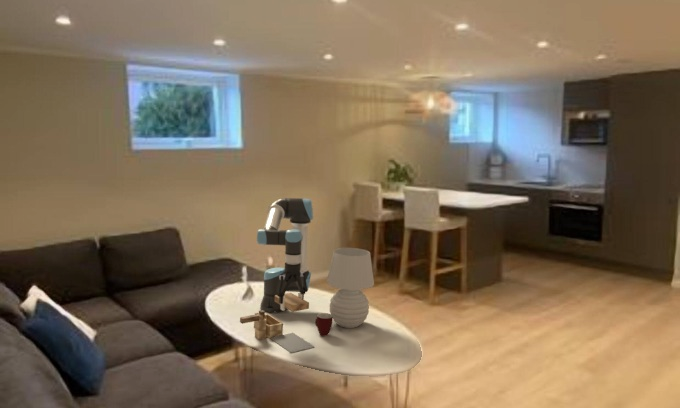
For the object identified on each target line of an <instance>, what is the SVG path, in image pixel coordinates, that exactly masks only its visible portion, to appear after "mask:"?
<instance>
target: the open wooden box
mask: <svg viewBox="0 0 680 408" xmlns="http://www.w3.org/2000/svg"><path fill="white" fill-rule="evenodd" d="M255 314H259V312H254V315H255ZM253 328H254V338H256V339H257V340H262V339H266V338H268V339H269V338H271V337H276V336H280V335H284V334H283V333H284V329H283V328H284V323H283V322H281V321H280V320H278V319H276V318H275V317H273V316H272V315H271V314H269V313H265V319H264V320H263V316H259V320H258V321H253Z"/></svg>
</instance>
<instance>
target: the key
mask: <svg viewBox="0 0 680 408" xmlns="http://www.w3.org/2000/svg"><path fill="white" fill-rule="evenodd" d="M258 313H259V314H255V313H254V314H251V315H244V316H240V317H239V322H240V324H247V323H252V322H253V323H254V321H258V320H259V316H263V320H264V319H265V314H266V313H265V311H263V310H261V309H260V310H258Z"/></svg>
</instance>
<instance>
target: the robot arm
mask: <svg viewBox="0 0 680 408" xmlns="http://www.w3.org/2000/svg"><path fill="white" fill-rule="evenodd" d="M313 209H314V208H313V202H312V200H311V199H310V198H302V197H301V198H300V197H299V198H298V197H297V198H296V197H294V198H293V197H282V198H279V199H277V200H275V201H273V202H272V203H270V205H269V206H268V208H267V210H266V215H267V217H266V220H265V223H264V227H263V228H261V229H258V230H257V232H256V242H257V244H258V245H263V246H285V247H284V248H285V251H284V267H278V266H277V267H272V268H268V269H266V270H264V275H263V295H262V299H261V302H260V305H259V306H260V308H259V309H260V310H263V311H265V312H266V313H280V312H284V311H286V310H288V309H287V308H285V297H284V294H286V293H292V292H293V293H298V294H297V296H298V297H300V298H301V299H303V300H305V298H304V297H305V295H306V293H307V292H308V291H309V288H310V282H311V275H312V272H311V271H310V268H309V267H308V266H307V259H308V258H307V257H308V256H307V255H308V254H307V253H308V226H309V225H310V223H311V222H312V220H314V210H313ZM283 219H285V220H286V219H288V220H289V223H290V224H291V225H292V226H291V227H292V229H288V230H287V229H285V230H284V229H280V226H281V223H282V220H283ZM275 295H277V296H278V297H279V303H280V304H281V305H280V304H278V303H276V302H275Z"/></svg>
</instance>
